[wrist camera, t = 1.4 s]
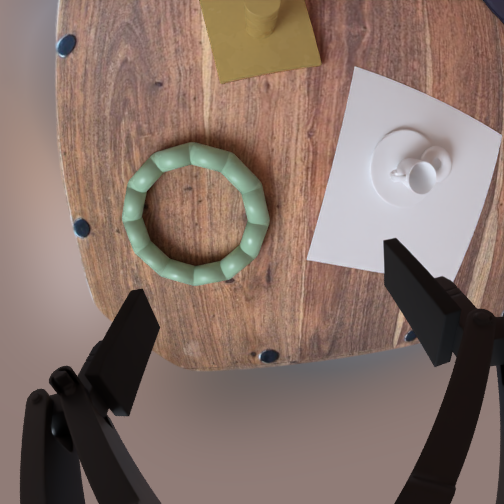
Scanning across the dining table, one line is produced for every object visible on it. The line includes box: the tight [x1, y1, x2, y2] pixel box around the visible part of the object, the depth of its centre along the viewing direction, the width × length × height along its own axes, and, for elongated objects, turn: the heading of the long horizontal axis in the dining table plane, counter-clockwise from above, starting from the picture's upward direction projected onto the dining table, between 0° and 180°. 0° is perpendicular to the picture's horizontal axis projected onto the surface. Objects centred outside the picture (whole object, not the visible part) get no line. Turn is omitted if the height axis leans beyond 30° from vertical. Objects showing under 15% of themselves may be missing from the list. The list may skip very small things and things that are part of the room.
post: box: [199, 0, 322, 84], centre depth 19 cm, size 9×9×8 cm
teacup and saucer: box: [369, 129, 453, 208], centre depth 26 cm, size 9×8×4 cm
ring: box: [122, 142, 270, 286], centre depth 29 cm, size 14×14×2 cm
